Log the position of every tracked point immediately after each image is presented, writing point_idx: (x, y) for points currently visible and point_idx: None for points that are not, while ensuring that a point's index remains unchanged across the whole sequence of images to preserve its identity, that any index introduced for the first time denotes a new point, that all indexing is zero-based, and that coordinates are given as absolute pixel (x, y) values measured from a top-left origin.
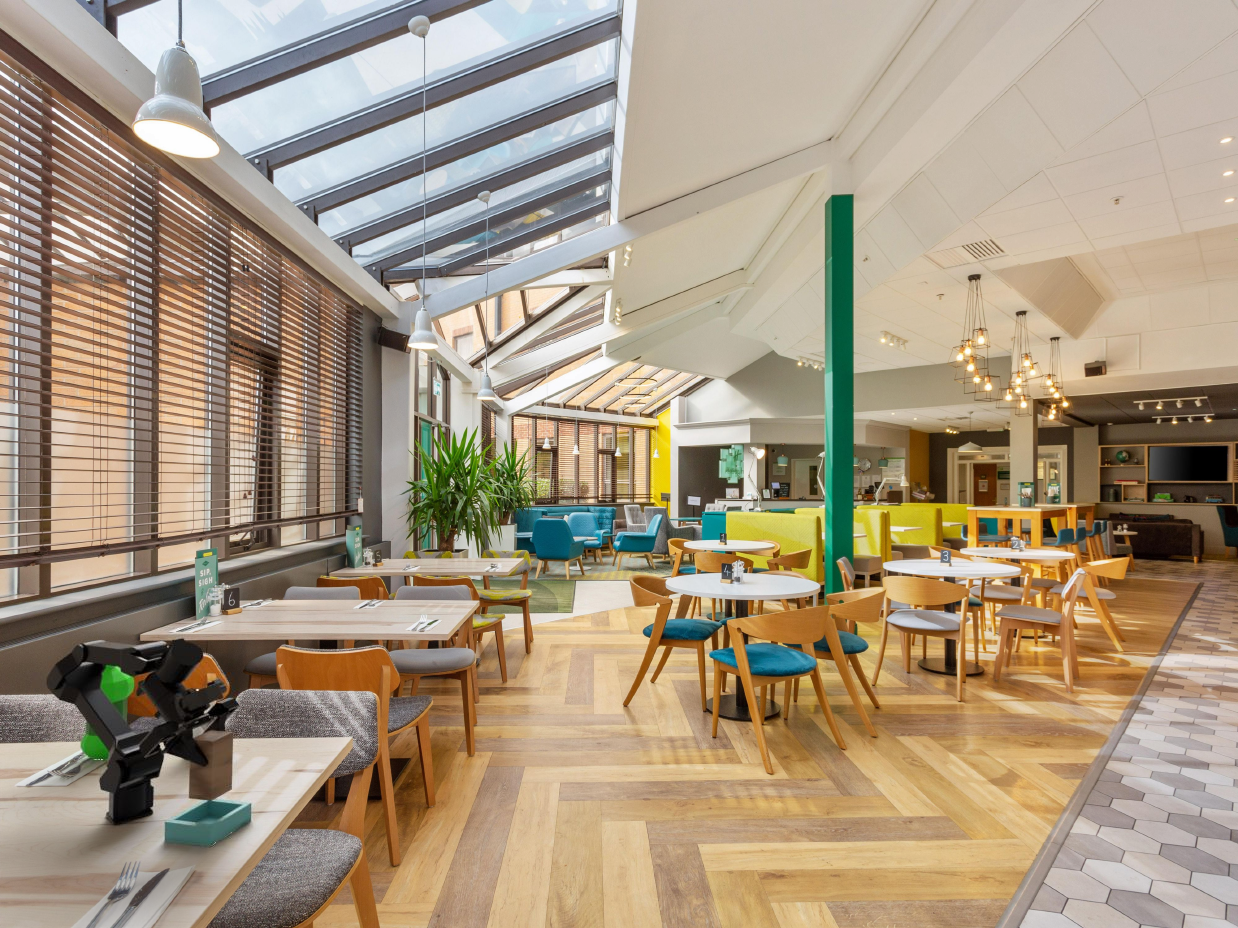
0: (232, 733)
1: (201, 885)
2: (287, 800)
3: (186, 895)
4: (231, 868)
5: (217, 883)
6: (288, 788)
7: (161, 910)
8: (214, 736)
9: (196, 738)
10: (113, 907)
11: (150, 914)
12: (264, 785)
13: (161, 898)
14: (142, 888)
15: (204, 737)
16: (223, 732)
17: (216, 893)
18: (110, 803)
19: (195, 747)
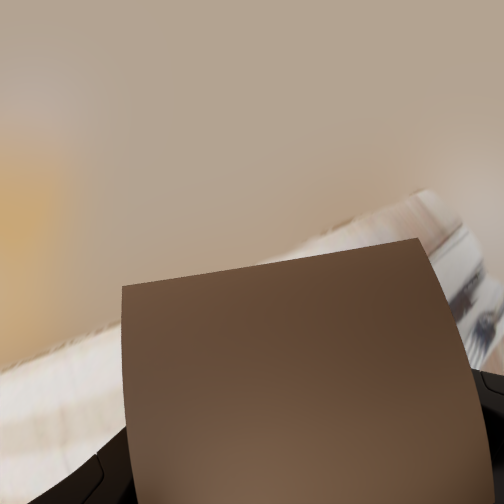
0: (138, 292)
1: (406, 238)
2: (86, 365)
3: (428, 235)
4: (354, 238)
5: (389, 222)
6: (41, 406)
7: (458, 235)
8: (329, 366)
9: (464, 480)
10: (495, 299)
11: (468, 239)
12: (45, 473)
13: (452, 260)
14: (463, 314)
15: (407, 447)
16: (167, 389)
17: (400, 204)
18: None
19: (482, 378)
